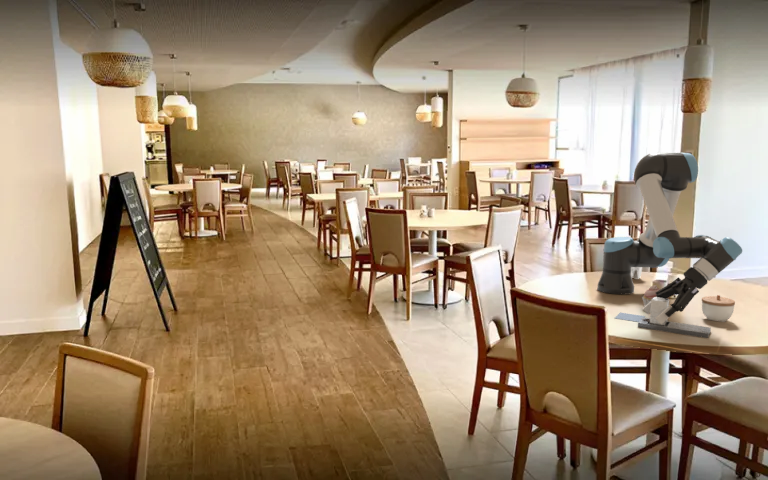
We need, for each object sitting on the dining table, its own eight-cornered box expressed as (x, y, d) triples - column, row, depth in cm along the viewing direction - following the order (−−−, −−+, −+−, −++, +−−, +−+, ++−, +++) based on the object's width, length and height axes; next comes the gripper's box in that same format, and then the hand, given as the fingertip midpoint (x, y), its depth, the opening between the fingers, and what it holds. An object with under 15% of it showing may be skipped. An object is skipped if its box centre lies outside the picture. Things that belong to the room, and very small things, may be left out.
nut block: (649, 327, 218) (651, 299, 216) (652, 324, 222) (654, 296, 220) (664, 329, 215) (666, 301, 214) (667, 326, 219) (669, 298, 218)
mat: (614, 319, 229) (614, 318, 229) (620, 313, 237) (620, 312, 237) (640, 323, 224) (640, 322, 224) (645, 317, 232) (645, 316, 232)
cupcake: (667, 314, 237) (669, 288, 235) (641, 311, 240) (642, 286, 238) (665, 307, 245) (667, 283, 244) (640, 305, 248) (642, 281, 247)
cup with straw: (633, 275, 304) (636, 235, 300) (649, 279, 296) (652, 237, 293) (621, 277, 299) (624, 236, 296) (637, 281, 292) (640, 238, 288)
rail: (637, 328, 219) (638, 322, 218) (642, 322, 225) (642, 317, 225) (707, 339, 207) (708, 333, 206) (710, 333, 213) (710, 327, 213)
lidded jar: (694, 316, 234) (696, 292, 232) (721, 315, 235) (723, 291, 233) (711, 324, 223) (713, 299, 222) (739, 324, 224) (742, 298, 223)
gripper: (723, 290, 203) (672, 334, 207) (692, 274, 227) (646, 314, 230) (708, 273, 203) (657, 318, 206) (678, 259, 226) (632, 300, 230)
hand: (651, 316), depth 218 cm, fingers open, 12 cm apart
